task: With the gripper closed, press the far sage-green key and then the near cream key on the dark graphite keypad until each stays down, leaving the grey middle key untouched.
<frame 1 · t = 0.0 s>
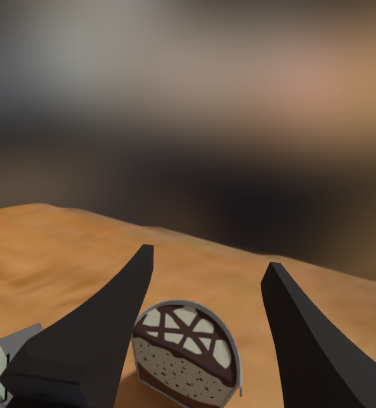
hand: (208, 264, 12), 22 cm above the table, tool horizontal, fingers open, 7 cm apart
food container: (182, 372, 26), on the table
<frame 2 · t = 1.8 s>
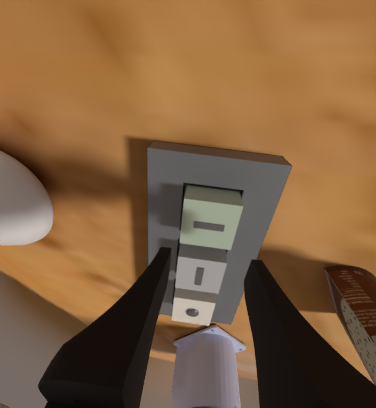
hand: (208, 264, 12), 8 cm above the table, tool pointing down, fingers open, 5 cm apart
cream key: (193, 302, 23), point 3 cm above the table, slide at 0.0 cm
grey key: (199, 266, 20), point 3 cm above the table, slide at 0.0 cm
flower in vase: (10, 184, 21), on the table
food container: (357, 285, 24), on the table
sage key: (209, 217, 17), point 3 cm above the table, slide at 0.0 cm
keypad: (201, 244, 23), on the table
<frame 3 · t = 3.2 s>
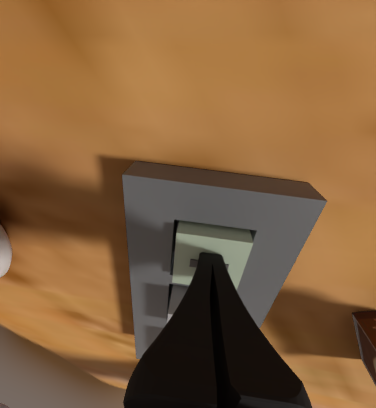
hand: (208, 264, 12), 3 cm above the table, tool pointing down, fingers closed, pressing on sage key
grey key: (197, 319, 16), point 3 cm above the table, slide at 0.0 cm
sage key: (208, 251, 14), point 2 cm above the table, slide at 1.2 cm, touching gripper
keypad: (199, 283, 18), on the table
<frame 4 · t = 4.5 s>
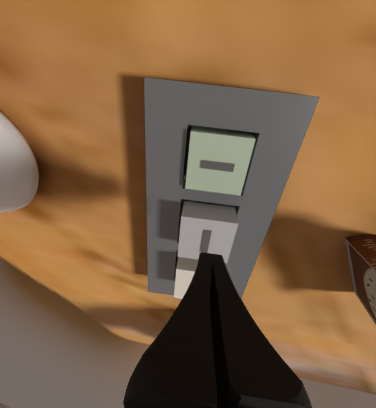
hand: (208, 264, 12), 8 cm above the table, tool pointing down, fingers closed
cream key: (197, 277, 21), point 3 cm above the table, slide at 0.0 cm
grey key: (205, 232, 17), point 3 cm above the table, slide at 0.0 cm
sage key: (217, 160, 16), point 2 cm above the table, slide at 1.6 cm
keypad: (206, 212, 20), on the table
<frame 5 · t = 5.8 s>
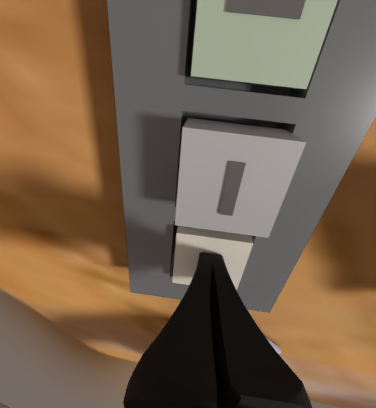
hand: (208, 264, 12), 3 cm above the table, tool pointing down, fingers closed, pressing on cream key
cream key: (209, 251, 14), point 2 cm above the table, slide at 1.4 cm, touching gripper
grey key: (228, 178, 9), point 3 cm above the table, slide at 0.0 cm
sage key: (257, 14, 7), point 2 cm above the table, slide at 1.6 cm
keypad: (224, 156, 12), on the table
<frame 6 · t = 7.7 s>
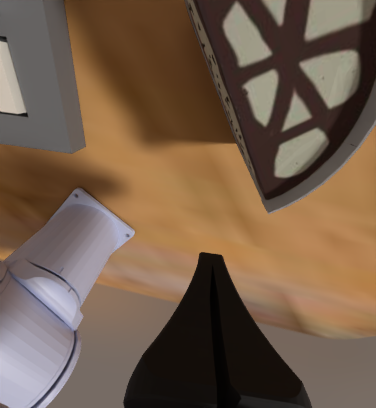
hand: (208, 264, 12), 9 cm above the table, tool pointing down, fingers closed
food container: (254, 68, 15), on the table
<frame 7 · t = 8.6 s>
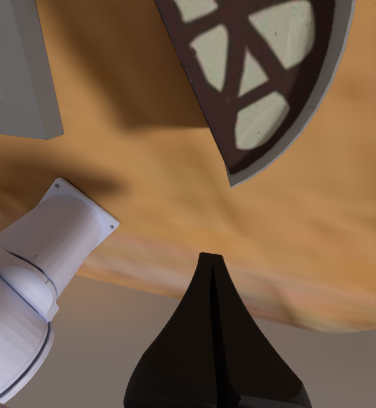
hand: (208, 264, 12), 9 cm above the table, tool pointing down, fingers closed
food container: (229, 46, 14), on the table
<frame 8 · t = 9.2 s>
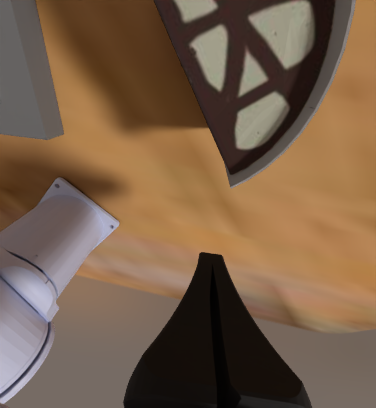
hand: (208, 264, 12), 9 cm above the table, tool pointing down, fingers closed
food container: (229, 46, 14), on the table
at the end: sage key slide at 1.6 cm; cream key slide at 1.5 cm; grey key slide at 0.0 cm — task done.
